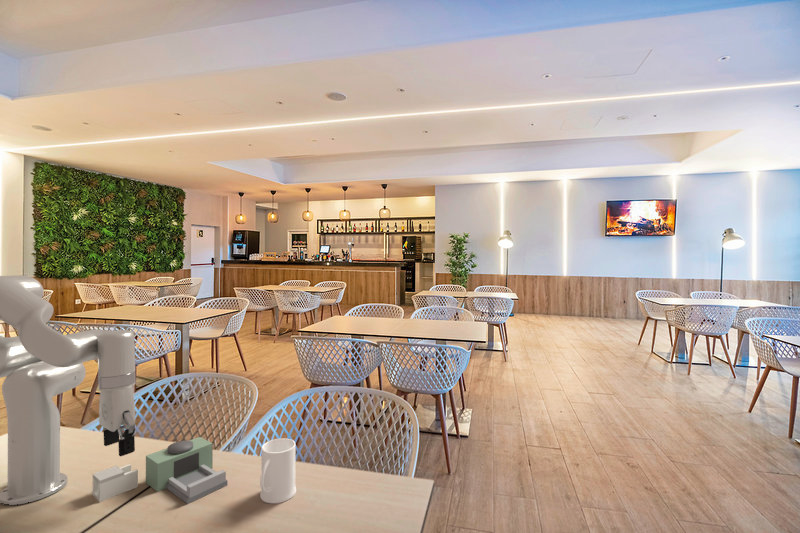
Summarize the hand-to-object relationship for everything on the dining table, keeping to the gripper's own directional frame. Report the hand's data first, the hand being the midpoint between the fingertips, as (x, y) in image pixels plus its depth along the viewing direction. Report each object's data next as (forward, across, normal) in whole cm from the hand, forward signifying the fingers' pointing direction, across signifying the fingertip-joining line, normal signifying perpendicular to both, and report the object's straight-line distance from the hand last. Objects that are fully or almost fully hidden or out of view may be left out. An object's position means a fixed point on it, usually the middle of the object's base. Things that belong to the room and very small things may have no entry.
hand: (119, 448), depth 98 cm
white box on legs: (+11, -1, -1) cm, 11 cm away
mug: (+12, +33, +21) cm, 41 cm away
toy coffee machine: (+11, +10, +12) cm, 19 cm away
